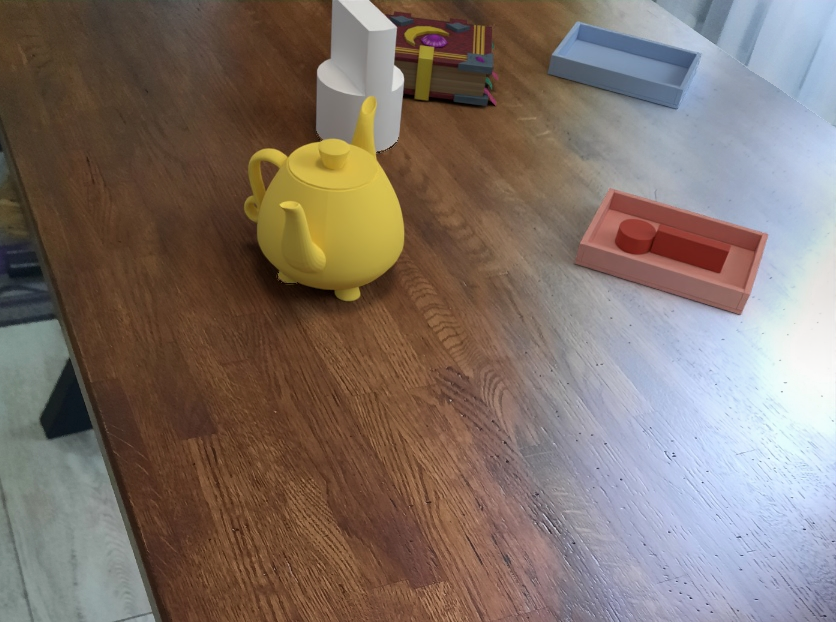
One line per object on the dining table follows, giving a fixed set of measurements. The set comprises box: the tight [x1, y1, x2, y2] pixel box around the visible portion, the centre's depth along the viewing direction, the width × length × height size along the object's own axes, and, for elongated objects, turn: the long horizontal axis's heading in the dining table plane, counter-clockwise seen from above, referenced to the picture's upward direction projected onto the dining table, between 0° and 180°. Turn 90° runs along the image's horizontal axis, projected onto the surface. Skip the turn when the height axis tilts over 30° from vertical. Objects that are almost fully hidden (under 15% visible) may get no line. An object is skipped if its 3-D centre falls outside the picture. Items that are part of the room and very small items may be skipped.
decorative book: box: [383, 10, 499, 107], centre depth 107 cm, size 11×16×5 cm
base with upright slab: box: [315, 0, 404, 152], centre depth 95 cm, size 9×9×12 cm
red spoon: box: [615, 219, 731, 273], centre depth 89 cm, size 11×4×2 cm, turn 67°
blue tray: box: [547, 20, 703, 110], centre depth 113 cm, size 16×11×2 cm
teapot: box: [243, 96, 405, 302], centre depth 81 cm, size 20×15×12 cm
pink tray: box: [574, 187, 769, 315], centre depth 90 cm, size 16×11×2 cm
